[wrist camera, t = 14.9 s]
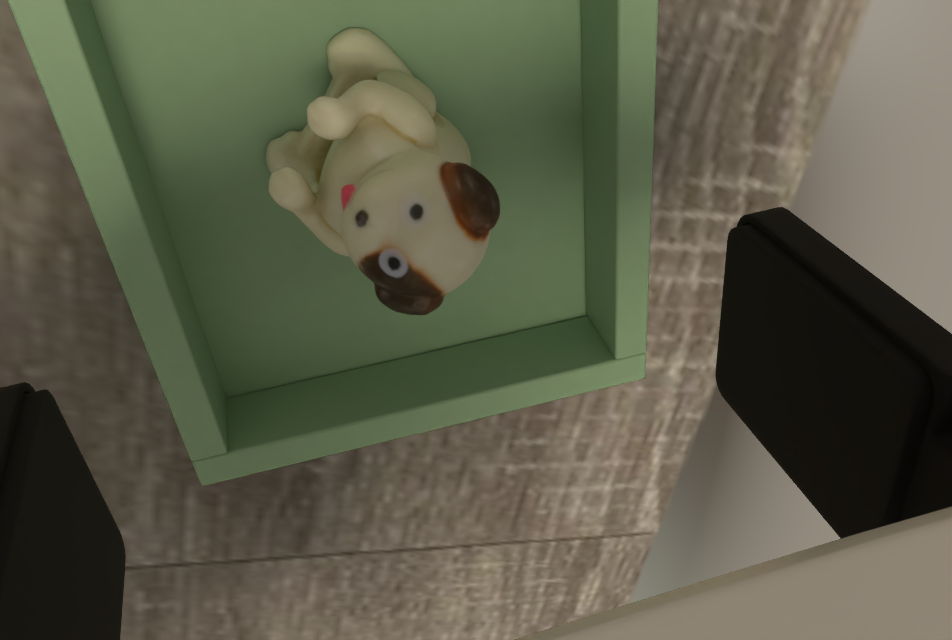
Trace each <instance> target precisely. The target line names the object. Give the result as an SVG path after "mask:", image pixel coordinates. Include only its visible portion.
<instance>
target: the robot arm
mask: <svg viewBox="0 0 952 640" xmlns="http://www.w3.org/2000/svg"><path fill="white" fill-rule="evenodd" d="M716 381H717V385H718V389H719V391H720V393H721V395H722V396H723V398H724V399H725V400H726V402H727V403H728V404H729V405H730V406H731V408H732V409H733V410H734V411H735V412H736V414H737V415H738V416H739V417H740V418H741V420H742V421H743V422H744V423H745V424H746V426H747V427H748V428H749V429H750V430H751V431H752V433H753V434H754V435H755V436H756V438H757V439H758V440H759V441H760V442H761V444H762V445H763V446H764V447H765V448H766V449H767V451H768V452H769V453H770V454H771V455H772V457H773V458H774V459H775V460H776V461H777V462H778V464H779V465H780V466H781V467H782V469H783V470H784V471H785V472H786V473H787V474H788V476H789V477H790V478H791V479H792V481H793V482H794V483H795V484H796V485H797V487H798V488H799V489H800V490H801V491H802V493H803V494H804V495H805V496H806V497H807V499H808V500H809V501H810V502H811V503H812V505H813V506H814V507H815V508H816V509H817V511H818V512H819V513H820V514H821V515H822V516H823V518H824V519H825V520H826V521H827V522H828V524H829V525H830V526H831V527H832V528H833V530H834V531H835V532H836V533H837V534H838V536H839V537H840V538H841V539H839V540H836V541H832V542H829V543H826V544H823V545H819V546H816V547H813V548H809V549H806V550H803V551H800V552H796V553H793V554H790V555H786V556H783V557H780V558H777V559H773V560H770V561H767V562H764V563H761V564H757V565H754V566H750V567H747V568H744V569H741V570H738V571H734V572H731V573H728V574H724V575H721V576H718V577H714V578H711V579H708V580H705V581H701V582H698V583H695V584H692V585H688V586H686V587H682V588H679V589H676V590H673V591H669V592H666V593H663V594H659V595H656V596H653V597H650V598H647V599H643V600H640V601H637V602H634V603H631V604H627V605H624V606H621V607H618V608H614V609H611V610H608V611H605V612H602V613H598V614H595V615H592V616H589V617H586V618H582V619H579V620H576V621H573V622H570V623H566V624H563V625H560V626H557V627H554V628H550V629H547V630H544V631H541V632H538V633H534V634H531V635H528V636H525V637H522V638H518V639H515V640H952V334H951V333H950V332H948V331H947V330H946V329H944V328H943V327H942V326H940V325H939V324H938V323H936V322H935V321H934V320H933V319H931V318H930V317H929V316H927V315H926V314H925V313H923V312H922V311H921V310H919V309H918V308H917V307H915V306H914V305H913V304H911V303H910V302H909V301H907V300H906V299H905V298H903V297H902V296H901V295H899V294H898V293H897V292H896V291H894V290H893V289H892V288H890V287H889V286H888V285H886V284H885V283H884V282H882V281H881V280H880V279H878V278H877V277H876V276H874V275H873V274H872V273H870V272H869V271H868V270H867V269H865V268H864V267H863V266H861V265H860V264H858V263H857V262H856V261H855V260H853V259H852V258H850V257H849V256H848V255H847V254H845V253H844V252H843V251H841V250H840V249H839V248H837V247H836V246H835V245H834V244H832V243H831V242H829V241H828V240H827V239H825V238H824V237H823V236H822V235H820V234H819V233H817V232H816V231H815V230H814V229H812V228H811V227H810V226H808V225H807V224H806V223H804V222H803V221H802V220H800V219H799V218H798V217H797V216H795V215H794V214H793V213H791V212H790V211H789V210H787V209H785V208H783V207H778V208H773V209H769V210H765V211H760V212H756V213H752V214H747V215H744V216H743V217H741V218H740V220H739V222H738V224H737V227H735V228H733V229H731V230H730V232H729V235H728V240H727V251H726V263H725V274H724V285H723V296H722V308H721V319H720V330H719V341H718V352H717V364H716ZM125 558H126V556H125V548H124V543H123V539H122V536H121V533H120V531H119V529H118V527H117V525H116V523H115V521H114V519H113V517H112V515H111V513H110V511H109V509H108V507H107V505H106V503H105V501H104V499H103V497H102V494H101V492H100V490H99V488H98V486H97V484H96V482H95V480H94V478H93V476H92V474H91V472H90V470H89V468H88V466H87V464H86V462H85V460H84V458H83V456H82V454H81V452H80V450H79V448H78V446H77V444H76V442H75V440H74V438H73V436H72V434H71V432H70V430H69V428H68V426H67V424H66V421H65V419H64V417H63V415H62V413H61V411H60V409H59V407H58V405H57V403H56V401H55V399H54V397H53V396H52V394H51V393H50V392H49V391H48V390H46V389H45V390H40V391H36V392H35V390H34V389H33V387H32V386H31V385H30V384H28V383H25V382H24V383H20V384H15V385H11V386H7V387H2V388H0V640H120V632H121V618H122V604H123V590H124V576H125Z"/></svg>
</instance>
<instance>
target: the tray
mask: <svg viewBox="0 0 952 640" xmlns="http://www.w3.org/2000/svg"><path fill="white" fill-rule="evenodd" d="M8 3H9V5H10V8H11V10H12V13H13V15H14V18H15V20H16V23H17V25H18V28H19V30H20V33H21V35H22V38H23V40H24V43H25V45H26V48H27V50H28V53H29V55H30V58H31V60H32V63H33V65H34V68H35V70H36V73H37V75H38V78H39V81H40V83H41V86H42V88H43V91H44V93H45V96H46V98H47V101H48V103H49V106H50V108H51V111H52V113H53V116H54V118H55V121H56V123H57V126H58V128H59V131H60V133H61V136H62V138H63V141H64V143H65V146H66V148H67V151H68V153H69V156H70V158H71V161H72V163H73V166H74V168H75V171H76V173H77V176H78V178H79V181H80V183H81V186H82V189H83V191H84V194H85V196H86V199H87V201H88V204H89V206H90V209H91V211H92V214H93V216H94V219H95V221H96V224H97V226H98V229H99V231H100V234H101V236H102V239H103V241H104V244H105V246H106V249H107V251H108V254H109V256H110V259H111V261H112V264H113V266H114V269H115V271H116V274H117V276H118V279H119V281H120V284H121V286H122V289H123V291H124V294H125V297H126V299H127V302H128V304H129V307H130V309H131V312H132V314H133V317H134V319H135V322H136V324H137V327H138V329H139V332H140V334H141V337H142V339H143V342H144V344H145V347H146V349H147V352H148V354H149V357H150V359H151V362H152V364H153V367H154V369H155V372H156V374H157V377H158V379H159V382H160V384H161V387H162V389H163V392H164V394H165V397H166V400H167V402H168V405H169V407H170V410H171V412H172V415H173V417H174V420H175V422H176V425H177V427H178V430H179V432H180V435H181V437H182V440H183V442H184V445H185V447H186V450H187V452H188V455H189V457H190V459H191V461H192V464H193V466H194V469H195V471H196V474H197V476H198V479H199V481H200V483H201V485H203V486H206V485H210V484H214V483H218V482H222V481H226V480H230V479H234V478H238V477H242V476H247V475H251V474H255V473H259V472H263V471H267V470H271V469H275V468H279V467H283V466H287V465H292V464H296V463H300V462H304V461H308V460H312V459H316V458H320V457H324V456H328V455H333V454H337V453H341V452H345V451H349V450H353V449H357V448H361V447H365V446H369V445H374V444H378V443H382V442H386V441H390V440H394V439H398V438H402V437H406V436H410V435H415V434H419V433H423V432H427V431H431V430H435V429H439V428H443V427H447V426H451V425H456V424H460V423H464V422H468V421H472V420H476V419H480V418H484V417H488V416H492V415H497V414H501V413H505V412H509V411H513V410H517V409H521V408H525V407H529V406H533V405H537V404H542V403H546V402H550V401H554V400H558V399H562V398H566V397H570V396H574V395H578V394H583V393H587V392H591V391H595V390H599V389H603V388H607V387H611V386H615V385H619V384H624V383H628V382H632V381H636V380H640V379H643V378H645V369H646V353H645V352H646V346H647V317H648V288H649V258H650V229H651V200H652V171H653V142H654V112H655V83H656V54H657V25H658V0H8ZM348 28H361V29H367V30H369V31H371V32H372V33H374V34H375V35H377V36H378V37H379V38H381V39H382V40H383V41H384V42H385V43H386V44H387V45H388V46H389V47H390V48H391V49H392V50H393V51H394V52H395V53H396V54H397V55H398V57H399V58H400V59H401V60H402V61H403V62H404V63H405V65H406V66H407V67H408V68H409V70H410V71H411V73H412V75H413V77H415V78H417V79H418V80H420V81H421V82H422V83H423V84H425V85H426V86H427V87H428V88H429V89H430V90H431V91H432V93H433V94H434V96H435V99H436V112H437V113H439V114H440V115H442V116H443V117H445V118H446V119H448V120H449V121H450V122H451V123H452V124H453V125H454V126H455V127H456V128H457V129H458V131H459V132H460V133H461V135H462V136H463V137H464V139H465V141H466V143H467V145H468V148H469V151H470V155H471V167H473V168H474V169H476V170H477V171H478V172H480V173H481V174H482V175H484V176H485V177H486V178H487V179H488V180H489V181H490V182H491V183H492V185H493V186H494V188H495V189H496V192H497V194H498V197H499V201H500V215H499V219H498V221H497V223H496V225H495V226H494V227H493V228H492V229H491V230H490V238H489V242H488V246H487V249H486V252H485V255H484V257H483V259H482V261H481V262H480V264H479V266H478V267H477V268H476V270H475V271H474V273H473V274H472V275H471V276H470V277H469V278H468V279H467V280H466V281H465V282H464V283H463V284H461V285H460V286H459V287H457V288H456V289H454V290H453V291H451V292H449V293H447V294H446V295H445V296H444V299H443V302H442V304H441V305H440V306H439V307H438V308H437V309H435V310H434V311H432V312H430V313H429V314H427V315H408V314H404V313H399V312H395V311H393V310H391V309H389V308H388V307H386V306H385V305H384V304H382V303H381V302H380V301H379V299H378V298H377V296H376V293H375V287H374V282H372V281H371V280H370V279H369V278H368V277H366V276H365V275H364V274H363V273H362V272H361V271H360V269H359V268H358V267H357V266H356V265H355V263H354V262H353V261H352V259H351V258H350V256H344V255H341V254H338V253H336V252H334V251H333V250H331V249H330V248H328V247H327V246H326V245H325V244H324V243H323V242H322V241H320V240H319V239H318V237H317V236H316V235H315V234H314V233H313V232H312V231H311V230H310V229H309V228H308V227H307V226H306V225H305V224H304V223H303V222H302V221H301V220H300V219H299V218H298V217H297V216H296V215H295V214H294V213H293V212H292V211H289V210H287V209H285V208H283V207H281V206H280V205H279V204H277V203H276V202H275V201H274V199H273V198H272V197H271V195H270V193H269V180H270V176H271V173H270V172H269V170H268V168H267V165H266V151H267V146H268V144H269V142H270V141H271V140H273V139H276V138H279V137H281V136H283V135H284V134H285V133H286V132H288V131H291V130H293V131H299V132H300V131H302V130H303V129H304V127H305V126H306V124H307V123H308V120H307V108H308V106H309V104H310V103H312V102H313V101H314V100H315V99H317V98H318V97H322V96H324V95H325V93H326V91H327V89H328V87H329V85H330V83H331V81H332V75H331V73H330V71H329V69H328V57H327V53H326V48H327V45H328V43H329V41H330V40H331V39H332V38H333V37H334V36H335V35H337V34H338V33H340V32H341V31H343V30H345V29H348Z"/></svg>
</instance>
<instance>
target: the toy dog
mask: <svg viewBox="0 0 952 640" xmlns="http://www.w3.org/2000/svg"><path fill="white" fill-rule="evenodd" d="M326 53H327V57H328V69H329V71H330V73H331V75H332V81H331V83H330V85H329V87H328V89H327V91H326V93H325V95H324V96H322V97H318V98H317V99H315V100H314V101H313V102H312V103H310V104H309V106H308V108H307V120H308V123H307V124H306V126H305V127H304V129H303V130H302V131H300V132H299V131H293V130H291V131H288V132H286V133H285V134H284V135H283V136H281V137H279V138H276V139H273V140H271V141H270V142H269V144H268V146H267V151H266V165H267V168H268V170H269V172H270V173H271V176H270V180H269V193H270V195H271V197H272V198H273V199H274V201H275V202H276V203H277V204H279V205H280V206H281V207H283V208H285V209H287V210H289V211H292V212H293V213H294V214H295V215H296V216H297V217H298V218H299V219H300V220H301V221H302V222H303V223H304V224H305V225H306V226H307V227H308V228H309V229H310V230H311V231H312V232H313V233H314V234H315V235H316V236H317V237H318V239H319V240H320V241H322V242H323V243H324V244H325V245H326V246H327V247H328V248H330V249H331V250H333V251H334V252H336V253H338V254H341V255H344V256H350V258H351V259H352V261H353V262H354V263H355V265H356V266H357V267H358V268H359V269H360V271H361V272H362V273H363V274H364V275H365V276H366V277H368V278H369V279H370V280H371V281H372V282H374V287H375V293H376V296H377V298H378V299H379V301H380V302H381V303H382V304H384V305H385V306H386V307H388V308H389V309H391V310H393V311H395V312H399V313H404V314H408V315H427V314H429V313H430V312H432V311H434V310H435V309H437V308H438V307H439V306H440V305H441V304H442V302H443V299H444V296H445V295H446V294H447V293H449V292H451V291H453V290H454V289H456V288H457V287H459V286H460V285H461V284H463V283H464V282H465V281H466V280H467V279H468V278H469V277H470V276H471V275H472V274H473V273H474V271H475V270H476V268H477V267H478V266H479V264H480V262H481V261H482V259H483V257H484V255H485V252H486V249H487V246H488V242H489V238H490V230H491V229H492V228H493V227H494V226H495V225H496V223H497V221H498V219H499V215H500V201H499V197H498V194H497V192H496V189H495V188H494V186H493V185H492V183H491V182H490V181H489V180H488V179H487V178H486V177H485V176H484V175H482V174H481V173H480V172H478V171H477V170H476V169H474V168H473V167H471V155H470V151H469V148H468V145H467V143H466V141H465V139H464V137H463V136H462V135H461V133H460V132H459V131H458V129H457V128H456V127H455V126H454V125H453V124H452V123H451V122H450V121H449V120H448V119H446V118H445V117H443V116H442V115H440V114H439V113H437V112H436V99H435V96H434V94H433V93H432V91H431V90H430V89H429V88H428V87H427V86H426V85H425V84H423V83H422V82H421V81H420V80H418V79H417V78H415V77H413V75H412V73H411V71H410V70H409V68H408V67H407V66H406V65H405V63H404V62H403V61H402V60H401V59H400V58H399V57H398V55H397V54H396V53H395V52H394V51H393V50H392V49H391V48H390V47H389V46H388V45H387V44H386V43H385V42H384V41H383V40H382V39H381V38H379V37H378V36H377V35H375V34H374V33H372V32H371V31H369V30H367V29H361V28H348V29H345V30H343V31H341V32H340V33H338V34H337V35H335V36H334V37H333V38H332V39H331V40H330V41H329V43H328V45H327V48H326Z"/></svg>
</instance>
